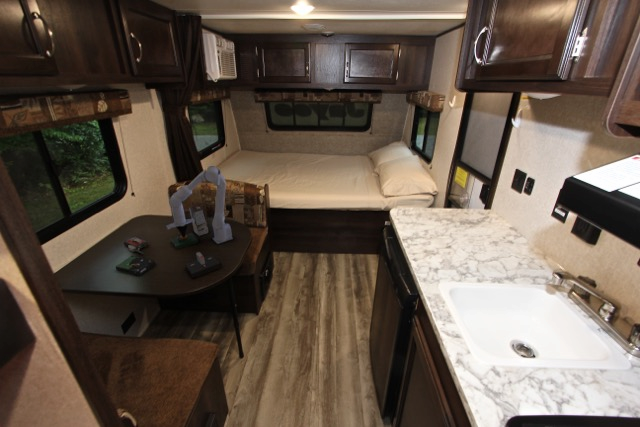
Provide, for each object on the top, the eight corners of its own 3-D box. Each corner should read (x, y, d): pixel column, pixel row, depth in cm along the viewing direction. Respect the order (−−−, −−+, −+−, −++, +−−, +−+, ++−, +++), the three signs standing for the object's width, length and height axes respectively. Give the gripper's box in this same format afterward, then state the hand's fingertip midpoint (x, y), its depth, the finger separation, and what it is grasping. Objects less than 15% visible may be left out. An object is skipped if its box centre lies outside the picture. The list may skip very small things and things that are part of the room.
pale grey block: (197, 259, 150) (195, 252, 148) (200, 258, 151) (199, 251, 149) (201, 265, 145) (200, 257, 144) (205, 263, 147) (203, 256, 145)
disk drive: (156, 265, 150) (133, 259, 154) (154, 260, 149) (132, 255, 153) (139, 276, 141) (115, 270, 145) (138, 272, 140) (114, 266, 144)
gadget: (211, 257, 157) (210, 252, 156) (220, 267, 149) (220, 262, 147) (184, 267, 149) (183, 262, 147) (193, 278, 140) (191, 273, 139)
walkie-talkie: (120, 247, 165) (142, 256, 157) (118, 240, 163) (140, 249, 155) (135, 240, 172) (157, 249, 164) (133, 233, 170) (155, 242, 162)
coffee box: (209, 232, 181) (205, 209, 174) (198, 236, 177) (194, 212, 170) (203, 227, 187) (199, 204, 181) (193, 230, 183) (188, 207, 177)
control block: (192, 236, 177) (191, 230, 176) (198, 242, 171) (197, 236, 169) (171, 242, 170) (170, 236, 169) (176, 249, 164) (175, 243, 162)
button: (186, 236, 172) (186, 234, 171) (188, 239, 169) (188, 236, 169) (179, 238, 170) (178, 236, 169) (181, 241, 167) (181, 238, 166)
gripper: (167, 221, 156) (172, 243, 162) (194, 214, 164) (198, 235, 170) (163, 217, 161) (168, 238, 167) (190, 210, 169) (194, 230, 175)
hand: (183, 236), depth 169 cm, fingers closed, pressing on button
